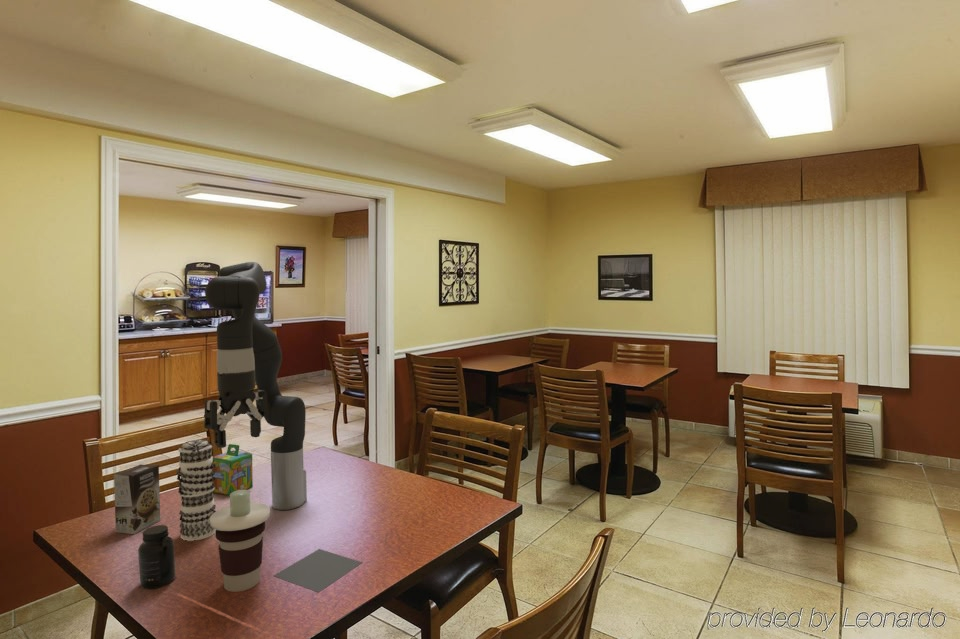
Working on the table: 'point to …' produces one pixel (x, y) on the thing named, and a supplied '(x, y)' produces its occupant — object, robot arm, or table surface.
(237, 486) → the chalk box
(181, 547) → the table surface
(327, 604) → the table surface
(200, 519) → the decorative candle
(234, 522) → the lid
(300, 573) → the mat
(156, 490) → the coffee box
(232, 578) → the coffee cup
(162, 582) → the supplement bottle
